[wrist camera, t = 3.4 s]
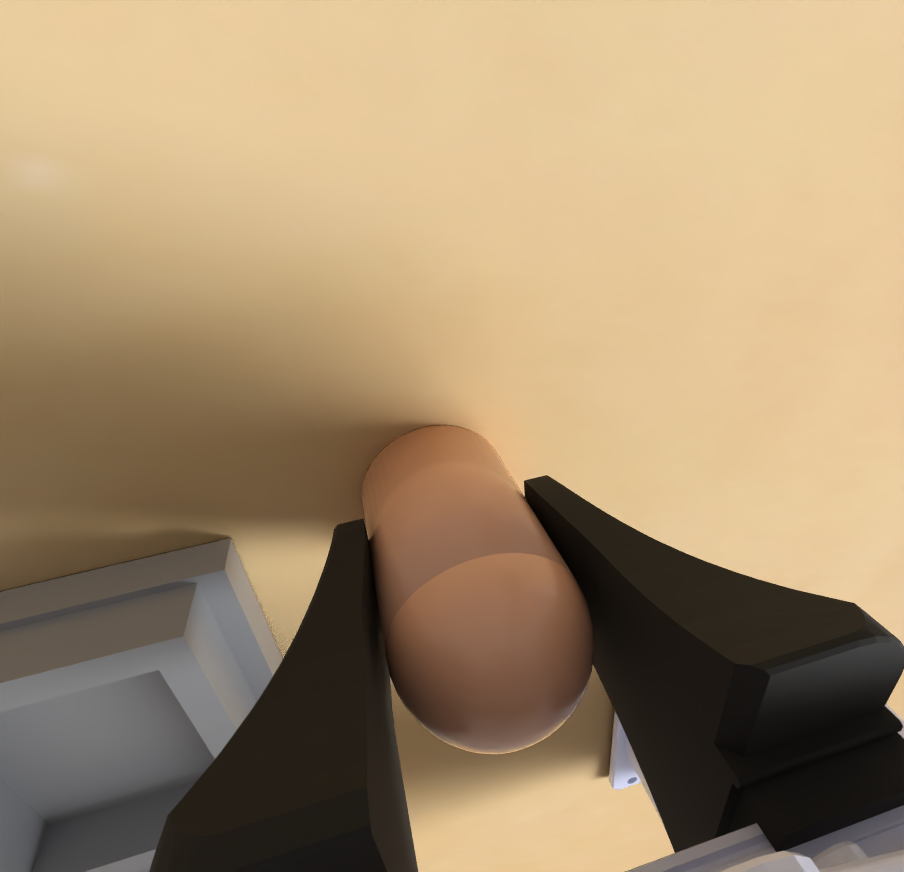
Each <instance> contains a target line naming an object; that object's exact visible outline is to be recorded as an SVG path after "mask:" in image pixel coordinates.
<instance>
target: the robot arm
mask: <svg viewBox="0 0 904 872" xmlns="http://www.w3.org/2000/svg"><path fill="white" fill-rule="evenodd" d="M524 490H525V499H526V500H527V502H528V504H529V505H530V507H531V508H532V510H533V512H534V513H535V515H536V516H537V518H538V520H539V521H540V523H541V524H542V526H543V528H544V529H545V531H546V532H547V534H548V536H549V537H550V539H551V541H552V542H553V544H554V545H555V547H556V549H557V550H558V552H559V553H560V555H561V557H562V558H563V560H564V561H565V563H566V565H567V566H568V568H569V570H570V571H571V573H572V574H573V576H574V578H575V579H576V581H577V583H578V585H579V587H580V588H581V590H582V592H583V594H584V597H585V599H586V601H587V604H588V607H589V610H590V614H591V618H592V624H593V629H594V658H593V665H594V667H595V669H596V671H597V673H598V675H599V678H600V680H601V682H602V684H603V686H604V688H605V690H606V692H607V695H608V697H609V699H610V701H611V703H612V705H613V707H614V710H615V714H614V726H613V737H612V749H611V760H610V772H609V782H610V784H611V786H612V788H614V789H616V790H619V789H623V788H626V787H629V786H631V785H634V784H637V783H640V782H641V783H642V785H643V786H644V788H645V790H646V792H647V794H648V796H649V798H650V800H651V802H652V804H653V806H654V807H655V809H656V811H657V813H658V815H659V817H660V819H661V821H662V823H663V825H664V827H665V829H666V832H667V834H668V837H669V839H670V841H671V844H672V846H673V849H674V852H675V853H674V854H671V855H669V856H666V857H663V858H661V859H658V860H655V861H653V862H650V863H647V864H644V865H642V866H639V867H636V868H634V869H631V870H628V871H625V872H904V721H903V720H902V719H901V718H900V717H899V716H898V715H897V714H896V713H895V712H894V711H893V710H892V709H891V708H890V707H889V706H888V705H887V704H886V702H887V701H888V699H889V697H890V695H891V693H892V691H893V689H894V687H895V686H896V684H897V682H898V680H899V678H900V676H901V674H902V672H903V669H904V646H903V644H902V643H901V641H900V640H899V639H897V638H896V637H895V636H894V635H893V634H891V633H890V632H889V631H888V630H887V629H885V628H884V627H883V626H882V625H881V624H879V623H878V622H877V621H876V620H874V619H873V618H872V617H871V616H870V615H868V614H867V613H866V612H865V611H864V610H862V609H861V608H860V607H858V606H857V605H856V604H855V603H851V602H847V601H842V600H838V599H833V598H829V597H824V596H820V595H815V594H811V593H807V592H802V591H798V590H794V589H790V588H786V587H783V586H779V585H776V584H772V583H769V582H765V581H762V580H758V579H755V578H752V577H749V576H746V575H742V574H739V573H736V572H733V571H731V570H728V569H725V568H722V567H719V566H717V565H714V564H711V563H708V562H706V561H703V560H701V559H698V558H695V557H693V556H691V555H688V554H686V553H684V552H681V551H679V550H677V549H675V548H672V547H670V546H668V545H666V544H663V543H661V542H659V541H657V540H655V539H653V538H651V537H649V536H647V535H645V534H643V533H641V532H639V531H637V530H636V529H634V528H632V527H630V526H628V525H626V524H624V523H623V522H621V521H619V520H617V519H616V518H614V517H612V516H610V515H609V514H607V513H605V512H604V511H602V510H601V509H599V508H597V507H596V506H594V505H592V504H591V503H589V502H588V501H586V500H585V499H583V498H581V497H580V496H578V495H577V494H575V493H574V492H572V491H571V490H569V489H568V488H566V487H565V486H563V485H562V484H560V483H558V482H557V481H555V480H554V479H552V478H551V477H549V476H547V475H546V476H542V477H537V478H533V479H529V480H525V481H524ZM149 872H418V868H417V862H416V856H415V850H414V844H413V838H412V832H411V827H410V821H409V815H408V809H407V803H406V797H405V791H404V785H403V779H402V773H401V766H400V760H399V754H398V748H397V742H396V736H395V729H394V721H393V712H392V700H391V685H390V674H389V670H388V666H387V661H386V655H385V649H384V642H383V635H382V629H381V622H380V615H379V609H378V602H377V595H376V589H375V582H374V573H373V565H372V559H371V552H370V545H369V539H368V535H367V531H366V527H365V523H364V519H360V520H356V521H352V522H347V523H343V524H339V525H337V527H336V528H335V529H334V533H333V538H332V542H331V546H330V550H329V553H328V557H327V560H326V563H325V566H324V569H323V572H322V575H321V577H320V580H319V583H318V586H317V588H316V591H315V593H314V596H313V598H312V601H311V603H310V605H309V607H308V610H307V612H306V614H305V616H304V619H303V621H302V623H301V625H300V627H299V630H298V632H297V634H296V636H295V638H294V640H293V641H292V643H291V645H290V647H289V649H288V651H287V653H286V654H285V656H284V658H283V660H282V662H281V663H280V665H279V667H278V669H277V670H276V672H275V673H274V675H273V677H272V678H271V680H270V682H269V683H268V685H267V686H266V688H265V690H264V691H263V693H262V695H261V696H260V698H259V699H258V701H257V702H256V704H255V705H254V707H253V708H252V710H251V711H250V712H249V714H248V715H247V717H246V718H245V719H244V721H243V722H242V723H241V725H240V726H239V727H238V729H237V730H236V732H235V733H234V734H233V736H232V737H231V738H230V740H229V741H228V743H227V744H226V745H225V747H224V748H223V749H222V751H221V752H220V753H219V755H218V756H217V757H216V758H215V760H214V761H213V762H212V764H211V765H210V766H209V767H208V768H207V769H206V771H205V772H204V773H203V774H202V775H201V777H200V778H199V779H198V780H197V781H196V783H195V784H194V785H193V786H192V787H191V789H190V790H189V791H188V792H187V793H186V795H185V796H184V797H183V798H182V799H181V801H180V802H179V803H178V804H177V805H176V806H175V807H174V809H173V810H172V811H171V812H170V813H169V814H168V816H167V819H166V821H165V824H164V827H163V830H162V833H161V836H160V839H159V842H158V845H157V848H156V851H155V854H154V857H153V860H152V863H151V867H150V871H149Z"/></svg>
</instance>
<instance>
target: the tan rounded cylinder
mask: <svg viewBox="0 0 904 872" xmlns="http://www.w3.org/2000/svg"><path fill="white" fill-rule="evenodd" d="M362 501H363V508H364V515H365V522H366V528H367V535H368V539H369V545H370V552H371V559H372V565H373V573H374V582H375V589H376V595H377V602H378V609H379V615H380V622H381V629H382V635H383V642H384V649H385V655H386V661H387V666H388V670H389V674H390V677H391V679H392V682H393V684H394V687H395V689H396V692H397V694H398V695H399V697H400V699H401V700H402V702H403V704H404V705H405V707H406V708H407V710H408V711H409V712H410V714H411V715H412V716H413V717H414V718H415V719H416V721H417V722H418V723H419V724H420V725H421V726H422V727H424V728H425V729H426V730H427V731H428V732H430V733H431V734H432V735H434V736H435V737H437V738H438V739H440V740H442V741H444V742H445V743H447V744H449V745H451V746H454V747H456V748H460V749H463V750H466V751H469V752H474V753H482V754H504V753H510V752H515V751H518V750H522V749H524V748H527V747H530V746H532V745H534V744H536V743H538V742H540V741H542V740H543V739H545V738H547V737H548V736H550V735H551V734H552V733H554V732H555V731H556V730H557V729H558V728H559V727H560V726H561V725H562V724H563V723H564V722H565V721H566V720H567V719H568V718H569V716H570V715H571V714H572V713H573V712H574V710H575V708H576V707H577V705H578V704H579V702H580V700H581V698H582V696H583V694H584V692H585V690H586V687H587V684H588V681H589V678H590V675H591V671H592V665H593V658H594V629H593V624H592V618H591V614H590V610H589V607H588V604H587V601H586V599H585V597H584V594H583V592H582V590H581V588H580V587H579V585H578V583H577V581H576V579H575V578H574V576H573V574H572V573H571V571H570V570H569V568H568V566H567V565H566V563H565V561H564V560H563V558H562V557H561V555H560V553H559V552H558V550H557V549H556V547H555V545H554V544H553V542H552V541H551V539H550V537H549V536H548V534H547V532H546V531H545V529H544V528H543V526H542V524H541V523H540V521H539V520H538V518H537V516H536V515H535V513H534V512H533V510H532V508H531V507H530V505H529V504H528V502H527V500H526V499H525V497H524V495H523V494H522V492H521V491H520V489H519V487H518V486H517V484H516V483H515V481H514V479H513V478H512V476H511V475H510V473H509V471H508V470H507V468H506V466H505V465H504V463H503V462H502V460H501V458H500V457H499V455H498V454H497V452H496V451H495V449H494V448H493V446H492V445H491V444H490V443H489V442H488V441H487V440H486V439H484V438H483V437H481V436H480V435H478V434H477V433H475V432H473V431H470V430H468V429H465V428H461V427H457V426H448V425H436V426H429V427H424V428H420V429H416V430H413V431H411V432H408V433H406V434H404V435H402V436H400V437H399V438H397V439H395V440H394V441H392V442H391V443H390V444H388V445H387V446H386V447H385V448H384V449H383V450H382V451H381V452H380V453H379V454H378V455H377V456H376V457H375V459H374V460H373V462H372V463H371V465H370V467H369V469H368V471H367V473H366V475H365V478H364V482H363V487H362Z"/></svg>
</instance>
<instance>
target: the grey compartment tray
mask: <svg viewBox="0 0 904 872" xmlns="http://www.w3.org/2000/svg"><path fill="white" fill-rule="evenodd" d="M282 660H283V658H282V655H281V653H280V651H279V648H278V646H277V644H276V641H275V639H274V637H273V634H272V632H271V630H270V627H269V625H268V623H267V620H266V618H265V616H264V613H263V611H262V609H261V606H260V604H259V602H258V599H257V597H256V595H255V592H254V590H253V588H252V586H251V583H250V581H249V579H248V576H247V574H246V572H245V569H244V567H243V565H242V562H241V560H240V558H239V555H238V553H237V551H236V548H235V546H234V544H233V541H232V539H231V538H228V539H224V540H220V541H215V542H211V543H207V544H203V545H198V546H194V547H190V548H185V549H181V550H177V551H172V552H168V553H164V554H160V555H155V556H151V557H147V558H142V559H138V560H134V561H130V562H125V563H121V564H117V565H112V566H108V567H104V568H99V569H95V570H91V571H87V572H82V573H78V574H74V575H69V576H65V577H61V578H57V579H52V580H48V581H44V582H39V583H35V584H31V585H27V586H22V587H18V588H14V589H9V590H5V591H1V592H0V872H149V871H150V867H151V863H152V860H153V857H154V854H155V851H156V848H157V845H158V842H159V839H160V836H161V833H162V830H163V827H164V824H165V821H166V819H167V816H168V814H169V813H170V812H171V811H172V810H173V809H174V807H175V806H176V805H177V804H178V803H179V802H180V801H181V799H182V798H183V797H184V796H185V795H186V793H187V792H188V791H189V790H190V789H191V787H192V786H193V785H194V784H195V783H196V781H197V780H198V779H199V778H200V777H201V775H202V774H203V773H204V772H205V771H206V769H207V768H208V767H209V766H210V765H211V764H212V762H213V761H214V760H215V758H216V757H217V756H218V755H219V753H220V752H221V751H222V749H223V748H224V747H225V745H226V744H227V743H228V741H229V740H230V738H231V737H232V736H233V734H234V733H235V732H236V730H237V729H238V727H239V726H240V725H241V723H242V722H243V721H244V719H245V718H246V717H247V715H248V714H249V712H250V711H251V710H252V708H253V707H254V705H255V704H256V702H257V701H258V699H259V698H260V696H261V695H262V693H263V691H264V690H265V688H266V686H267V685H268V683H269V682H270V680H271V678H272V677H273V675H274V673H275V672H276V670H277V669H278V667H279V665H280V663H281V662H282Z"/></svg>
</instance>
